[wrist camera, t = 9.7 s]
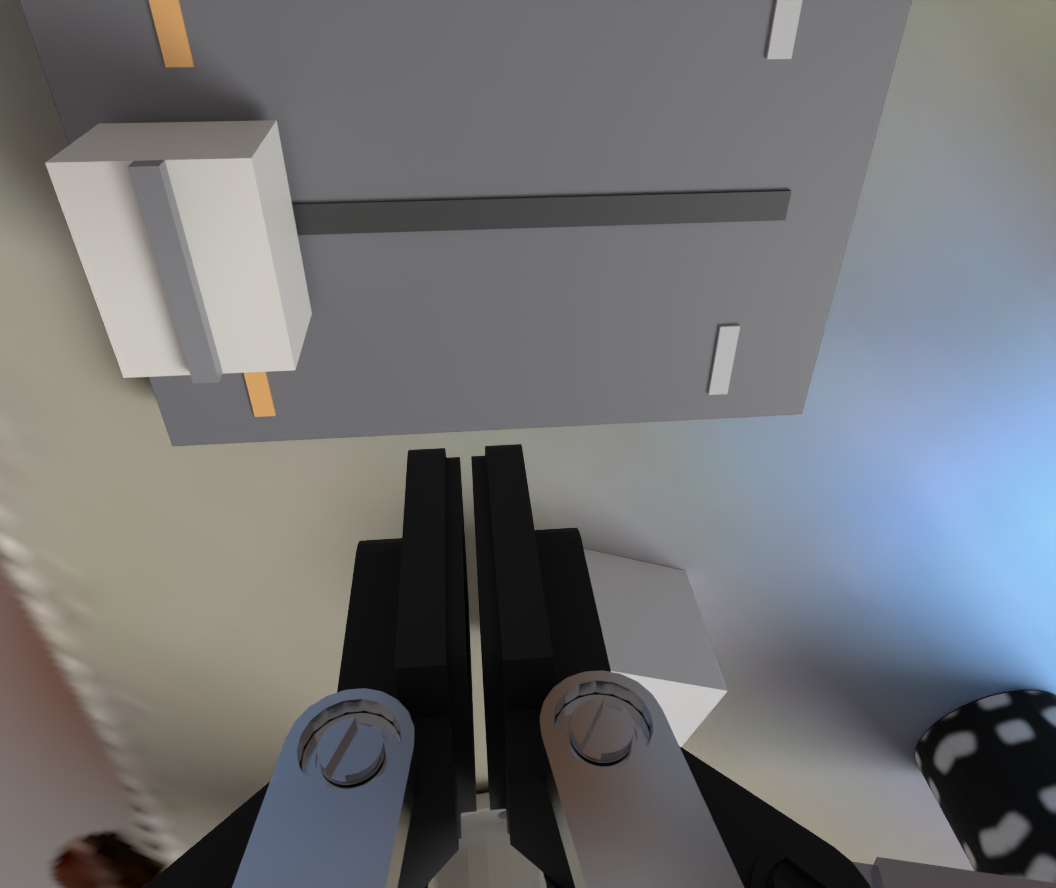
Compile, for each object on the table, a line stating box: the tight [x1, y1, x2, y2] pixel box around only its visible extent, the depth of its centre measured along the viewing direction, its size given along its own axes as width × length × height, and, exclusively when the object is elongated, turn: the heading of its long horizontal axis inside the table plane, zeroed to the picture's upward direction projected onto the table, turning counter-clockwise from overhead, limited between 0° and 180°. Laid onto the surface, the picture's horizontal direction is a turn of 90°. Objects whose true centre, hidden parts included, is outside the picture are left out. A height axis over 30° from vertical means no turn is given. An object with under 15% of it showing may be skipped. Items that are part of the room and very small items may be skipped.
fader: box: [45, 120, 312, 384], centre depth 18 cm, size 5×4×3 cm
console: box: [20, 0, 912, 446], centre depth 21 cm, size 14×20×2 cm
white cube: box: [584, 549, 728, 747], centre depth 30 cm, size 6×6×6 cm
